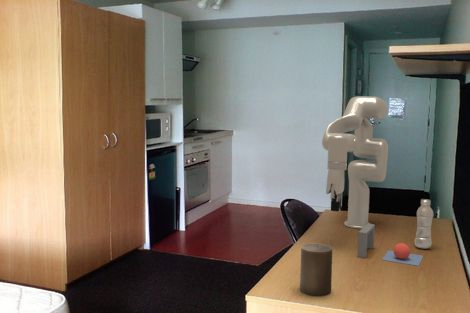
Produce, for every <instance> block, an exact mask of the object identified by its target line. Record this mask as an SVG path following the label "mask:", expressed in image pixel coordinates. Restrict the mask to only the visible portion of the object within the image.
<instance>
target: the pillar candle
mask: <svg viewBox="0 0 470 313" xmlns="http://www.w3.org/2000/svg"><path fill="white" fill-rule="evenodd" d="M300 248H301V250H300V275H299V276H300V277H299V278H300V282H299V283H300V284H299V289H300V291H301V292H302V293H304V294H306V295H310V296H318V297H319V296H326V295H328V294H329V295H330V294H332V293H331V292H332V277H333V276H332V275H333V274H332V273H333V271H332V270H333V247H332V246H331V245H329V244H325V243H320V242H319V243H318V242H314V243H313V242H312V243H311V242H310V243H305V244H302V245H301V246H300Z"/></svg>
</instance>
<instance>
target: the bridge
mask: <svg viewBox="0 0 470 313" xmlns="http://www.w3.org/2000/svg"><path fill="white" fill-rule="evenodd" d="M375 230H376V225H375V224H373V223H371V224H366V225H365V226H364V227H363V228H362V229H360V230H359V231H358V234H357V254H356V256H357V258H362V259H366V257H367V255H368V254H367V250H368V249H371V250H373V249H374V246H375Z"/></svg>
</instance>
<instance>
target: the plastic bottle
mask: <svg viewBox="0 0 470 313" xmlns="http://www.w3.org/2000/svg"><path fill="white" fill-rule="evenodd" d="M431 203H432V202H431V199H428V198H427V199H425V198H421V199H420V206H419V207H418V209H417V211H416V220H417V221H416V223H417V225H416V226H417V227H416V233H415V238H414V244H415V247H416V248H419V249H426V250H427V249H430V248H431V247H432V223H433V218H434V211H433V209H432V208H431Z"/></svg>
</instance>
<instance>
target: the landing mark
mask: <svg viewBox="0 0 470 313" xmlns="http://www.w3.org/2000/svg"><path fill="white" fill-rule="evenodd" d="M423 257H424V255H421V254H420V255H419V254H413V253H410V255H409V257H408V258H406V259H399V258H397V257H396V256H395V255H394V250H387V251H386V253H385V255H384V256H383V257H382V259H381V261H386V262H391V263H398V264H404V265H409V266H416V267H419V266H420V264H421V262H422V261H423Z"/></svg>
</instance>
